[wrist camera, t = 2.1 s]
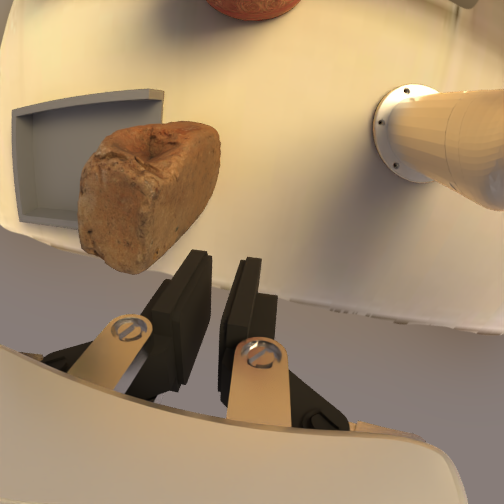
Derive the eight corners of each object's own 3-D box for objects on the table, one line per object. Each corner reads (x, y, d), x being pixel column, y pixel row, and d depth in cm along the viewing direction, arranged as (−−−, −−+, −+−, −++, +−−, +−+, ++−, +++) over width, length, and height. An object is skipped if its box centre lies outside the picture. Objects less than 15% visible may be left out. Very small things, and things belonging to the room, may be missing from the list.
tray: (164, 91, 33) (149, 88, 29) (160, 226, 41) (147, 238, 37) (30, 107, 34) (11, 110, 30) (35, 212, 42) (19, 221, 38)
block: (210, 210, 39) (145, 293, 21) (158, 193, 39) (65, 259, 21) (233, 129, 34) (174, 142, 16) (176, 114, 34) (75, 120, 16)
